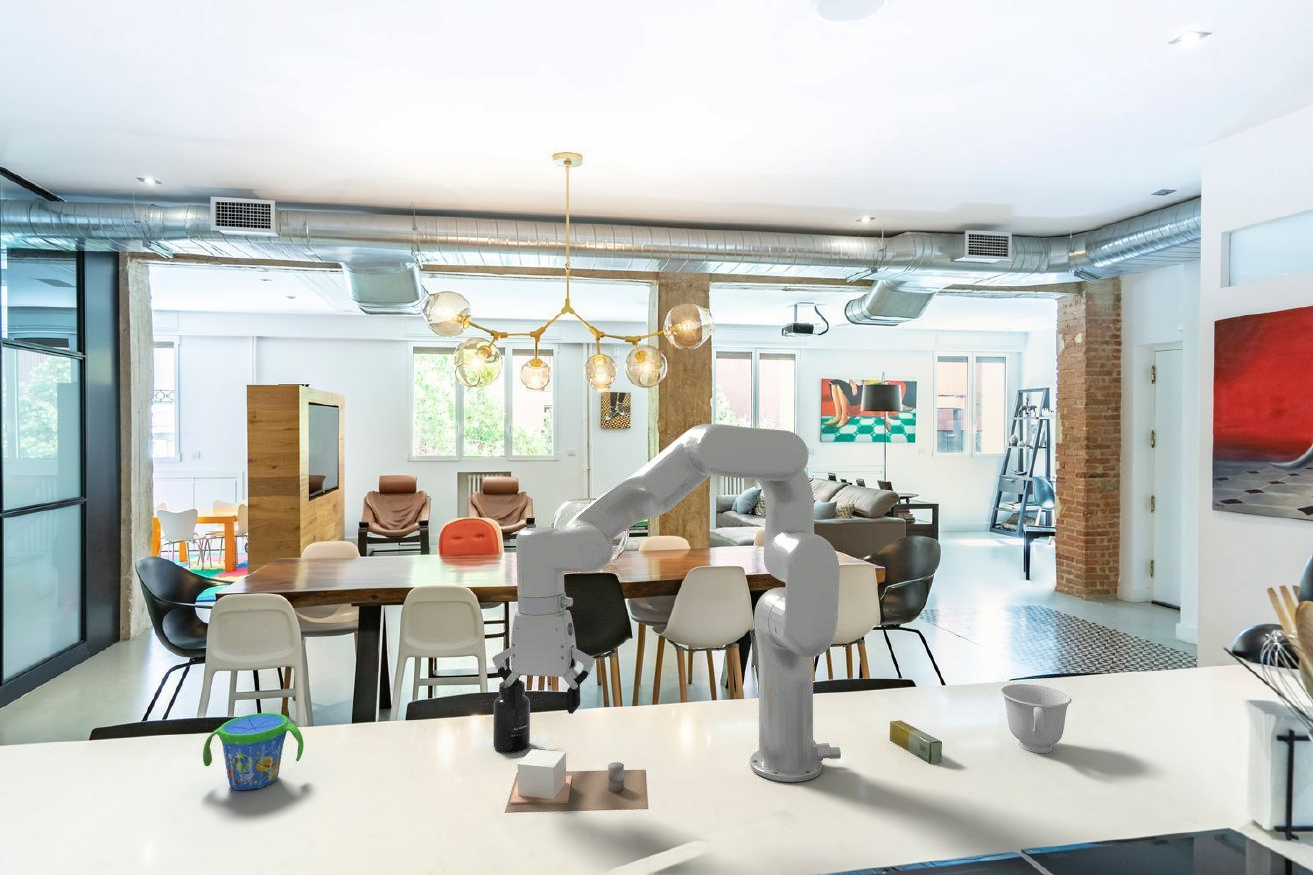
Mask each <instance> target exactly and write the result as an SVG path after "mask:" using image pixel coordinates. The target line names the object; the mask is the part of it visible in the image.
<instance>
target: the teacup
mask: <svg viewBox="0 0 1313 875" xmlns="http://www.w3.org/2000/svg"><path fill="white" fill-rule="evenodd" d="M1000 694H1001V695H1002V696H1003V699H1004V704H1005V709H1006V718H1007V723H1008V727H1009V730H1010V733H1011V734H1012V735H1013V736H1014V737H1015V738H1016V739H1017V740H1019V741H1018V746H1019V747H1020V748H1021V749H1023V750H1025V751H1027V752H1030V753H1035V754H1048V753H1050V752H1053V745H1055V744H1057V743H1058V742H1059V741H1060V740H1061V739H1062V737H1063V734H1064V730H1065V724H1066V723H1065V722H1066V716H1067V711H1068V710H1067V709H1068V706H1069V705H1070V704H1071V702H1073V701H1072V700H1073V699H1072V697H1070V696H1069V695H1068V694H1067V693H1065V692H1063V691H1061V690H1058V689H1056V688H1053V687H1049V686H1045V685H1038V684H1036V685H1035V684H1027V683H1019V684H1018V683H1017V684H1016V683H1015V684H1009V685H1006V686H1003V688H1001V689H1000Z"/></svg>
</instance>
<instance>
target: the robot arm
mask: <svg viewBox="0 0 1313 875" xmlns="http://www.w3.org/2000/svg"><path fill="white" fill-rule="evenodd" d="M808 449H809V448H808V447H807V444H806V442H805V441H804V440H803V438H801V436H800V435H798V434H797V433H795V432H792V431H790V430H785V429H784V430H783V429H775V428H774V429H772V428H771V429H770V428H758V427H748V426H736V425H729V424H721V423H704V424H703V423H702V424H699V425H695V426H693V427H691V428H690V429H687V431H685V432H684V433H682V434H681V435H680V436H678V438H677V439H675V440H674V441H673V442H671V443H670V444H669V445H668V446H667V447H665V448H664V449H663V450H662V451H660V452H659V453H658V454H657V455H656V456H654V457H653V458H652V459H651V460H649V461H648V462H647V463H645V465H644V466H642V467H640V468H639V469H638V470H637V471H636V472H635V473H633V474H632V475H630V476H629V477H626V479H624V480H622V481H621V482H619V484H617V485H616V486H615V487H613V488H611V489H609V491H607V492H605V493H604V494H602V495H600V496H599V497H598V498H596V499H595V500H594V501H593V502H591V503H590V504H589V505H588V506H586V507H585V508H584V509H582V511H580V512H579V513H578V514H577V515H575V516H574V517H573V518H572V519H570V521H568V522H567V524H565V525H564V526H563V528H562V530H559V529H558V528H555V527H552V526H551V527H547V526H541V527H540V526H539V527H538V526H537V527H536V526H535V527H528V528H525V529H522V530H520V531H518V533H517V534H516V537H515V549H516V550H515V552H516V553H515V555H516V582H517V584H516V586H517V611H516V612H515V613H514V616H513V617H514V618H513V622H512V629H511V636H510V638H511V639H510V647H509V648H506V649H505V650H503V651H501V652H499V653H498V654H494V656H492V658H491V661H492V662H493V663H492V664H493V665H494V667H495V668H496V669H497V674H498V675H499V676H500V678H502V680H503V681H505V683H506V685H507V686H508V687H509V703H511V710H512V711H515V710H517V709H518V708H519V707H520V706H521V705H522V703H523V701H522V682H521V681H522V679H521V680H520V678H521V676H529V677H530V676H531V677H532V676H533V677H549V678H550V677H551V678H554V677H555V678H556V677H557V678H560V677H561V678H563V680H564V681H565V682H566V684H568V686H569V687H568V688H567V691H566V698H567V713H568V714H569V715H570V714H571V715H573V714H574V713H575V712H576V711H577V709H578V708H579V706H580V705H581V684H582V683H583V682H584V681H585V680H586V679H587V678H588V677H589V676H590V675H591V671H593V668H594V666H595V663H596V659H595V658H594V657H592V656H590V655H589V654H587V653H585V652H584V651H581V650H579V649H578V648H577V644H576V643H577V642H576V634H575V627H574V622H573V618H572V613H571V611H570V610H568V609H567V607H572V606H573V604H574V599H573V597H568V596H567V594H566V592H565V572H567V573H568V572H569V573H570V572H571V573H584V574H585V573H586V574H588V573H589V574H591V573H596V572H599V571H601V570H603V569H604V568H605V567H607V566H608V564H609V563H610V562H611V560H612V558H613V555H614V545H613V542H612V541H613V540H614V539H615V538H617V537H618V536H619V535H620V534H622V533H624V531H626V530H628V529H629V528H631V527H632V526H635V525H637V524H638V523H641V522H643V521H648V520H650V519H654V518H657V517H659V516H662V515H664V514H666V513H668V512H669V511H671V510H672V509H673V508H674V507H675V506H676V505H678V504H679V503H680V502H682V500H683V499H684V498H685V497H687V496H688V495H689V494H691V493H692V492H693V491H694V490H695V489H697V487H699V486H700V485H701V484H703V483H704V482H705V481H706V480H708V478H710V477H711V476H718V477H725V478H734V479H744V480H745V479H746V480H756V481H757V482H758V483H759V485H760V487H761V489H762V492H763V496H764V501H765V523H764V525H765V526H764V542H763V543H764V544H763V564H764V567H765V569H766V571H767V573H769V574H770V575H771V576H772V577H774V578H775V579H777V580H779V581H780V582H782V583H784V584H785V587H774V588H772V589H768V590H767V591H766V592H764V593H763V594H762V595H761V596H760V597H759V599H758V601H757V603H756V605H755V608H754V612H753V613H754V615H753V616H754V617H753V619H754V620H753V622H754V629H755V630H754V631H755V636H756V638H755V639H756V645H757V655H758V656H757V657H758V750H757V751H755V752H753V754H752V755H751V756H750V758H749V761H750V762H749V764H750V767H751V768H750V769H752V771H754V772H755V774H757V775H759V776H761V777H764V778H766V779H769V780H771V781H772V780H773V781H777V782H787V783H795V782H799V783H800V782H805V781H809V780H813V779H815V778H816V777H817V776H819V775H820V774H821V773H822V771H823V760H824V759H830V760H831V759H832V760H835V759H836V760H838V759H839V760H840V759H841V758H842V757H841V754H842V752H841V747H840V746H833V747H832V746H831V745H830V743H829V742H826V743H824V742H823V743H817V742H816V741H815V740H814V666H813V665H814V664H813V658H815V657H818V656H821V655H822V654H824V653H826V651H828V649H829V648H830V647H831V645H832V644H833V642H834V640H835V637H836V633H837V628H838V622H839V621H838V619H839V618H838V617H839V615H838V614H839V602H840V599H839V598H840V580H841V576H840V575H841V574H840V572H841V570H840V561H839V557H838V555H837V552H836V550H835V548H834V546H833V545H832V544H831V542H830V541H828V540H827V539H826V538H825V537H823V536H821V535H819V534H816V533H815V501H814V499H815V498H814V490H813V486H812V483H811V481H810V478H809V476H808V474H807V472H806V471H805V470H806V467H807V465H808V462H809V450H808ZM508 658H510V667H511V668H509V666H508V665H506V662H505V660H507V659H508ZM578 663H580V664H582V665H583V667H582V670H581V672H580V673H579V672H578V670H576V669H575V668H576V667H577V666H578Z"/></svg>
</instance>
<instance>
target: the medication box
mask: <svg viewBox="0 0 1313 875" xmlns="http://www.w3.org/2000/svg"><path fill="white" fill-rule="evenodd" d="M889 741H890V743H891V742H892V743H893V744H895V745H896V746H898V747H899V748H902V749H903V750H905V751H906V752H908V753H909V754H911V755H914V756H915V757H917V758H918V759H920V760H922V761H924V762H925V763H927V764H929V765H937V764H941V763H942V760H943V759H942V755H943V754H942V751H943V741H941V740H940V739H938V738H936V737H934V736H931V735H930V734H928V733H927V732H925V731H922V730H920V729H919V728H916V727H914V726H912V725H910V724H909V723H907V722H906V721H903V720H902V719H897V720H892V721H889Z"/></svg>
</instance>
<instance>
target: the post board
mask: <svg viewBox="0 0 1313 875" xmlns="http://www.w3.org/2000/svg"><path fill="white" fill-rule="evenodd" d="M624 764H625V763H622V762H618V761H614V762H610V763H609V764H608V765H607V770H602V769H601V770H572V771H571V770H566V783H565V785H564V786H563V787H562V789H561V790H560V791H559V792H558V794H557V795H556V796H555V798H554V799H549V798H539V797H529V796H520V795H518V771H517V772H516V774H515V779H514V781H513V785H512V787H511V790H510V794H509V797H508V800H507V803H506V806H505V810H504V813H538V812H541V813H542V812H543V813H544V812H577V811H578V812H582V811H585V812H586V811H616V810H620V811H623V810H648V809H649V803H648V801H649V800H648V788H647V771H646V769H625V765H624Z"/></svg>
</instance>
